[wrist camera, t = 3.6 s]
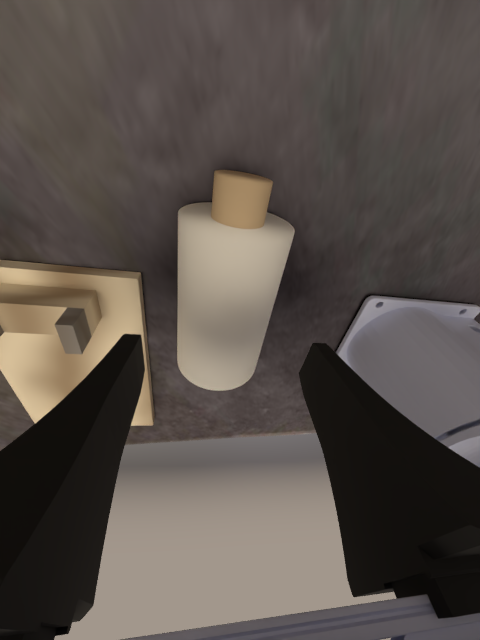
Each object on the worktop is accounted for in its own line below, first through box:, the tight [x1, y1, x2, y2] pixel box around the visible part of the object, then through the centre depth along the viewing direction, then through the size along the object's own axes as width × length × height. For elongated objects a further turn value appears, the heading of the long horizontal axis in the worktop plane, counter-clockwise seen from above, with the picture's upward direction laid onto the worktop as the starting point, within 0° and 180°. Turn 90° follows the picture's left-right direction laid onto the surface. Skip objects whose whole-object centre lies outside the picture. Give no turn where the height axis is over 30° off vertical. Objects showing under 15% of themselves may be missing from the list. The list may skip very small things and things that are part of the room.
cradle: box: [0, 260, 155, 426], centre depth 17 cm, size 10×16×4 cm, turn 171°
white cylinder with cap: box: [177, 170, 295, 391], centre depth 14 cm, size 5×12×5 cm, turn 171°
